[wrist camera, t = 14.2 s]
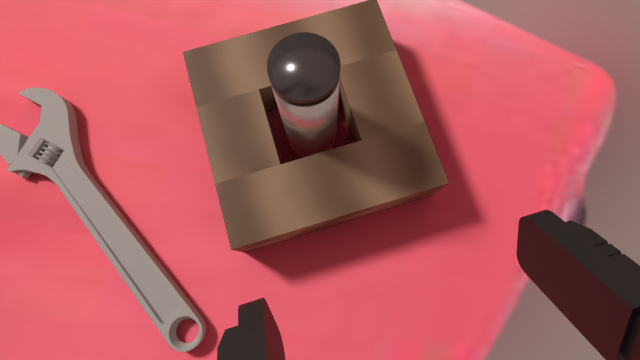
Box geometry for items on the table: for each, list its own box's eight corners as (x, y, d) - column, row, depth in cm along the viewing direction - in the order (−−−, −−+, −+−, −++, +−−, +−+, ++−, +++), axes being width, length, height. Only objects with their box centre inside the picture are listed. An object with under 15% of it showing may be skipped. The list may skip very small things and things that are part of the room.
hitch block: (244, 252, 29) (231, 249, 25) (200, 77, 33) (182, 51, 29) (433, 194, 30) (448, 183, 26) (370, 29, 33) (376, -2, 29)
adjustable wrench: (217, 331, 28) (210, 335, 27) (144, 386, 28) (131, 394, 26) (61, 86, 33) (46, 76, 31) (-6, 127, 32) (-24, 120, 31)
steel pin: (295, 164, 31) (278, 107, 20) (281, 120, 32) (258, 43, 21) (342, 150, 31) (350, 86, 20) (327, 106, 32) (328, 24, 21)
